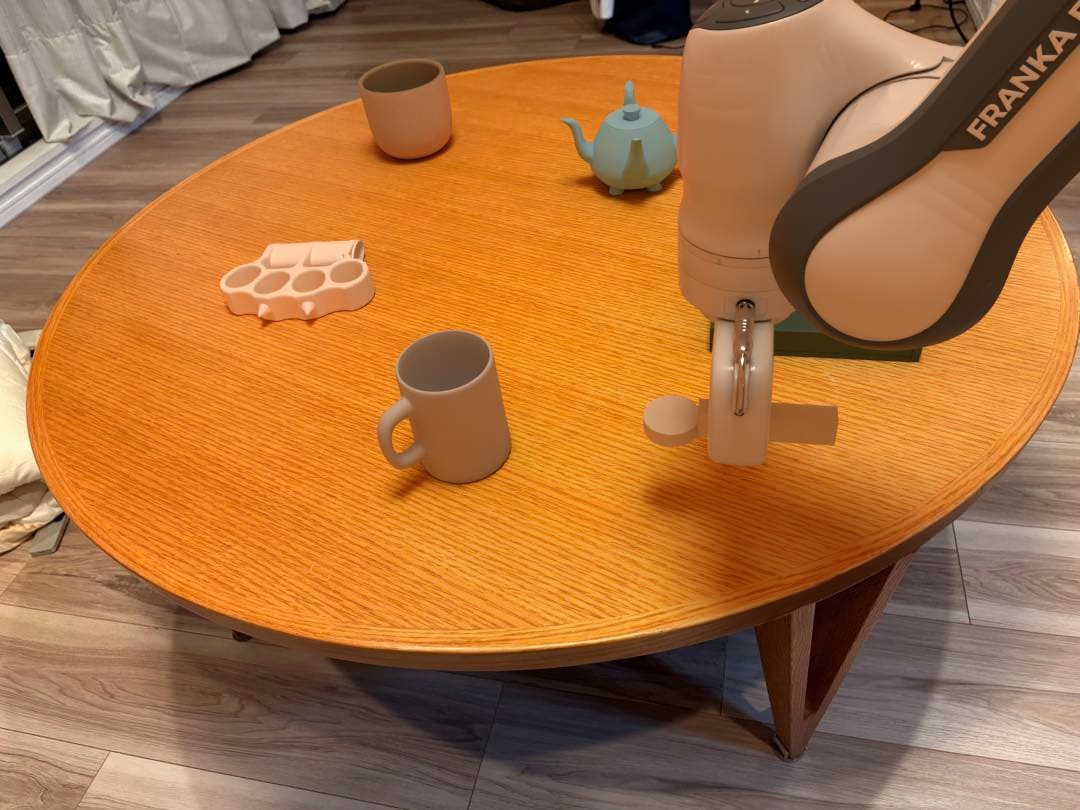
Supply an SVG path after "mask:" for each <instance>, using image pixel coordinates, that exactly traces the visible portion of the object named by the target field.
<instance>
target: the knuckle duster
mask: <svg viewBox="0 0 1080 810" xmlns="http://www.w3.org/2000/svg"><path fill="white" fill-rule="evenodd" d="M364 255H365V243H364V241H363V240H361V239H357V238H356V239H350V240H332V241H331V240H329V241H309V242H293V243H292V242H290V243H279V242H278V243H270V244H269V245H268V246H266V248H265V250H264V251H263V253H262V254H261V256H260V257H259V258H257V259H256V260H254V261H252V262H250V263H249V262H248V263H244V264H241V265H239V266H237V267H234V268H232V269H231V270H229V271H228V272H226V273H225V274H224V275H223V276H222V277H221V279H220V281H219V289H220V291H221V293H222V296H223V298H224V300H225V302H226V305H227V306H228V309H229V311H230V312H232V313H233V314H234V315H235V316H236V315H237V316H244V315H254V316H257V318H258V319H260V318H261V319H262V320H266V321H273V322H280V321H283V320H289V319H298V320H303V321H309V320H314V319H318V318H319V319H320V318H323V317H324V316H326V315H328V314H331V313H335V312H339V311H350V312H353V311H356V310H359V309H361V308H363V307H365V306H366V305H367V304H369V303H370V302H371V301H372V300H373V298H375V293H376V288H375V284H374V281H373V278H372V274H371V271H370V268H369V265H368V264H367V263H366V262H365V261H364V257H365V256H364Z"/></svg>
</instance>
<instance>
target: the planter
mask: <svg viewBox="0 0 1080 810" xmlns="http://www.w3.org/2000/svg"><path fill="white" fill-rule="evenodd" d="M357 87H358V90H359V94H360V98H361V102H362V105H363V109H364V112H365V116H366V119H367V122H368V125H369V126H368V127H369V129H370V132H371V134H372V136H373V140H374V141H375V143H376V144H377V145H378V147H379V148H380V149H381V150H382V151H383V152H384V153H386V154H387V155H389V156H391V157H392V158H396V159H399V160H400V159H401V160H414V159H415V160H416V159H421V158H425V157H428V156H430V155H431V156H432V155H433V154H435V153H437V152H438V151H440V150H441V149H442V148H443V147H444V146H446V144H447V143H448V141H449V140H450V137H451V136H452V135H451V134H452V129H453V113H452V106H451V100H450V93H449V89H448V83H447V76H446V72H445V68H444V66H443V64H442V63H440V62H439V61H437V60H433V59H429V58H404V59H398V60H393V61H390V62H386V63H385V62H384V63H383V64H380V65H377V66H375V67H373V68H371V69H369V70H368V71H366V72H364V73H363V74H362V75H361V76H360V77H359V78H358V81H357Z"/></svg>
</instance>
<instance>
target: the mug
mask: <svg viewBox="0 0 1080 810" xmlns="http://www.w3.org/2000/svg"><path fill="white" fill-rule="evenodd" d="M394 374H395V378H396V382H397V386H398V390H399V394H400V398H399V400H397V401H396V402H395V403H393V404H392V405H390V406H389V407H388V408H387V409H386V410H385V411H384V412H383V413H382V414H381V415H380V417H379V419H378V421H377V425H376V426H377V427H376V435H377V442H378V445H379V449H380V451H381V453H382V455H383V457H384V459H385V460H386V461H387V462H388V464H389V465H390V466H391V467H394V469H397V470H408V469H410V468H412V467H414V466H415V465H417V464H419V463H420V462H421V463H422V466H423V467H424V469H425V470H426V471H427V472H428V473H429V474H430V475H431V476H433V477H434V478H435V479H437V480H440V481H442V482H446V483H451V484H468V483H473V482H476V481H477V482H478V481H480V480H482V479H485V478H487V477H489V476H490V475H492V474H493V473H495V472H496V471H498V470H499V469H500V468H501V467H502V466H503V465H504V463H505V462H506V460H507V459H508V457H509V455H510V452H511V448H512V438H511V432H510V427H509V423H508V419H507V414H506V408H505V404H504V399H503V394H502V390H501V385H500V384H501V383H500V379H499V374H498V370H497V364H496V359H495V353H494V351H493V348H492V346H491V345H490V343H489V342H488V341H487V340H486V339H485V338H483V337H482V336H481V335H479V334H477V333H474V332H472V331H467V330H461V329H447V330H440V331H435V332H432V333H429V334H426V335H424V336H421V337H420V338H418V339H416V340H414V341H412V343H410V344H409V345H408V346H407V347H405V348H404V349H403V350H402V352H401V353H400V354H399V356H398V358H397V360H396V363H395V368H394ZM405 420H408V421H409V426H410V429H411V431H412V436H413V440H414V441H413V443H412V444H411V445H410V446H409V447H408V448H406V449H405V450H404V451H401V452H396V451H395V449H394V445H393V432H394V430H395V429H396V427H397V426H398V425H399V424H400V423H401V422H403V421H405Z"/></svg>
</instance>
